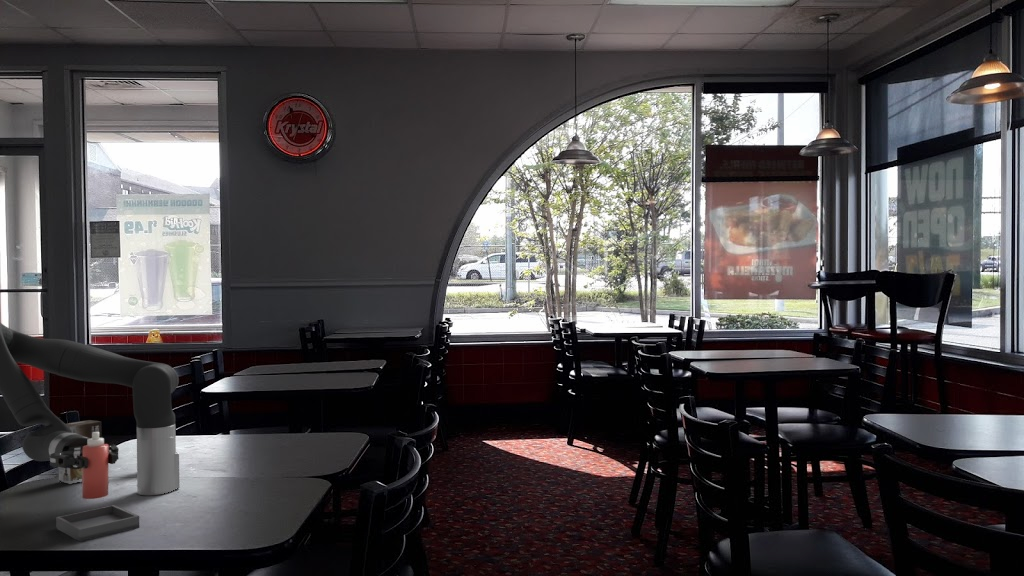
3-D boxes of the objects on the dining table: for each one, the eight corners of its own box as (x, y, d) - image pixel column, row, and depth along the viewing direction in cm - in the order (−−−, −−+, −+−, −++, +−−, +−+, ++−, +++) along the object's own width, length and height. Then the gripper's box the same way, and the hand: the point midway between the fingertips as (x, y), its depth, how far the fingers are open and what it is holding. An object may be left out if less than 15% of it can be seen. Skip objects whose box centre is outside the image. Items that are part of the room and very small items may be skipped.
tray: (113, 515, 173) (113, 504, 173) (139, 527, 164) (139, 516, 164) (56, 528, 164) (56, 517, 164) (79, 541, 155) (79, 529, 155)
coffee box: (91, 475, 213) (90, 419, 214) (103, 477, 210) (102, 421, 210) (57, 482, 206) (57, 424, 206) (70, 485, 202) (69, 426, 202)
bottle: (103, 491, 167) (103, 429, 167) (111, 495, 164) (112, 432, 164) (78, 496, 164) (79, 432, 164) (87, 500, 160) (87, 435, 160)
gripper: (37, 438, 168) (64, 449, 157) (104, 429, 179) (134, 439, 168) (37, 471, 168) (63, 485, 157) (104, 461, 179) (134, 472, 168)
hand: (100, 461), depth 162 cm, fingers closed on bottle, 5 cm apart
